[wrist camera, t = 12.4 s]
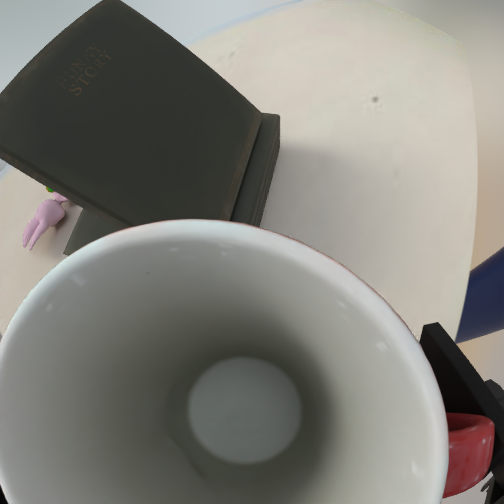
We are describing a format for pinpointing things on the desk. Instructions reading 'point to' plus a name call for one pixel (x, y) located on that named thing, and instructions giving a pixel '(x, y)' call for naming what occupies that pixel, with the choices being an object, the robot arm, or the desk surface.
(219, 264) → the mug
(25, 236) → the pink toy figure
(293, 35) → the desk surface
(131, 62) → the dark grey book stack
